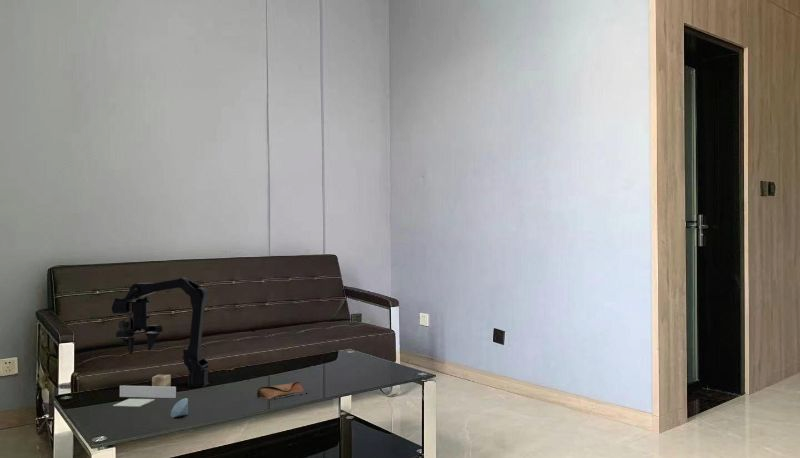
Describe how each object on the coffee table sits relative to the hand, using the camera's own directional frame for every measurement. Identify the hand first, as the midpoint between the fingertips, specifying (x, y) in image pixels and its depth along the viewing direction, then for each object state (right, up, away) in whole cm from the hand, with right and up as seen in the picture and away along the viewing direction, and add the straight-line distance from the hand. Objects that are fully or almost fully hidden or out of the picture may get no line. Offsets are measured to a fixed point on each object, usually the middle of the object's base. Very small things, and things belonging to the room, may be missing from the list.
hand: (140, 352), depth 252 cm
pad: (+10, -12, -30) cm, 34 cm away
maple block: (+13, -13, -11) cm, 21 cm away
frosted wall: (+12, -13, -21) cm, 27 cm away
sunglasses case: (+62, -13, -20) cm, 67 cm away
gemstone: (+33, -12, -48) cm, 59 cm away
